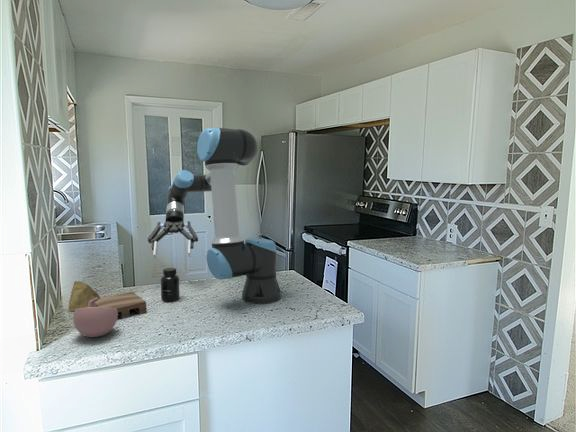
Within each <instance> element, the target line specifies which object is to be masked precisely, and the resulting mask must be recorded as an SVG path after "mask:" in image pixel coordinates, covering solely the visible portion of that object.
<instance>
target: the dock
mask: <svg viewBox="0 0 576 432" xmlns="http://www.w3.org/2000/svg"><path fill="white" fill-rule="evenodd" d="M93 307H109V308H115V309H117V310H118V317H120V318H121V319H126V318H130V310H134V311H135V312H136V313H138V314H139V315H142V314H146V313H147V310H148V309H147V301H146V300H145V299H143V298H142V297H141V296H139V295H138V294H136V293H135V291H130V292H125V293H120V294H116V295H115V294H114V295H111V296H110V295H109V296H105V297H102V298H101V297H100V299H98V300H97V301H96V302H94V303H93Z"/></svg>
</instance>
